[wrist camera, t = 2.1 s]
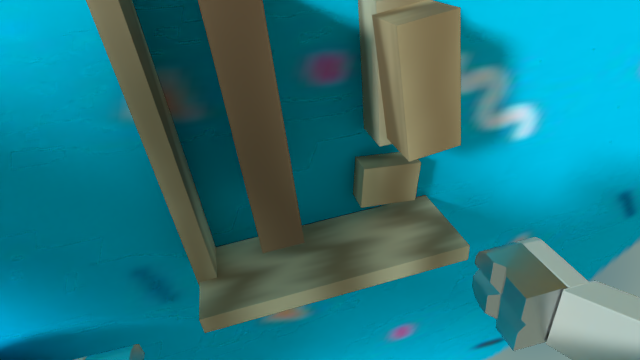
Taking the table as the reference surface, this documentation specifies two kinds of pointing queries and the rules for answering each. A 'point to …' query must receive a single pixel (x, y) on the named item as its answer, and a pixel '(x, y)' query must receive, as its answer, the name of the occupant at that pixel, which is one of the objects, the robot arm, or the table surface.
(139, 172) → the table surface
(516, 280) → the robot arm
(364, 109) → the offcut
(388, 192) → the offcut
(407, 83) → the offcut
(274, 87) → the walnut board
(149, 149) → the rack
